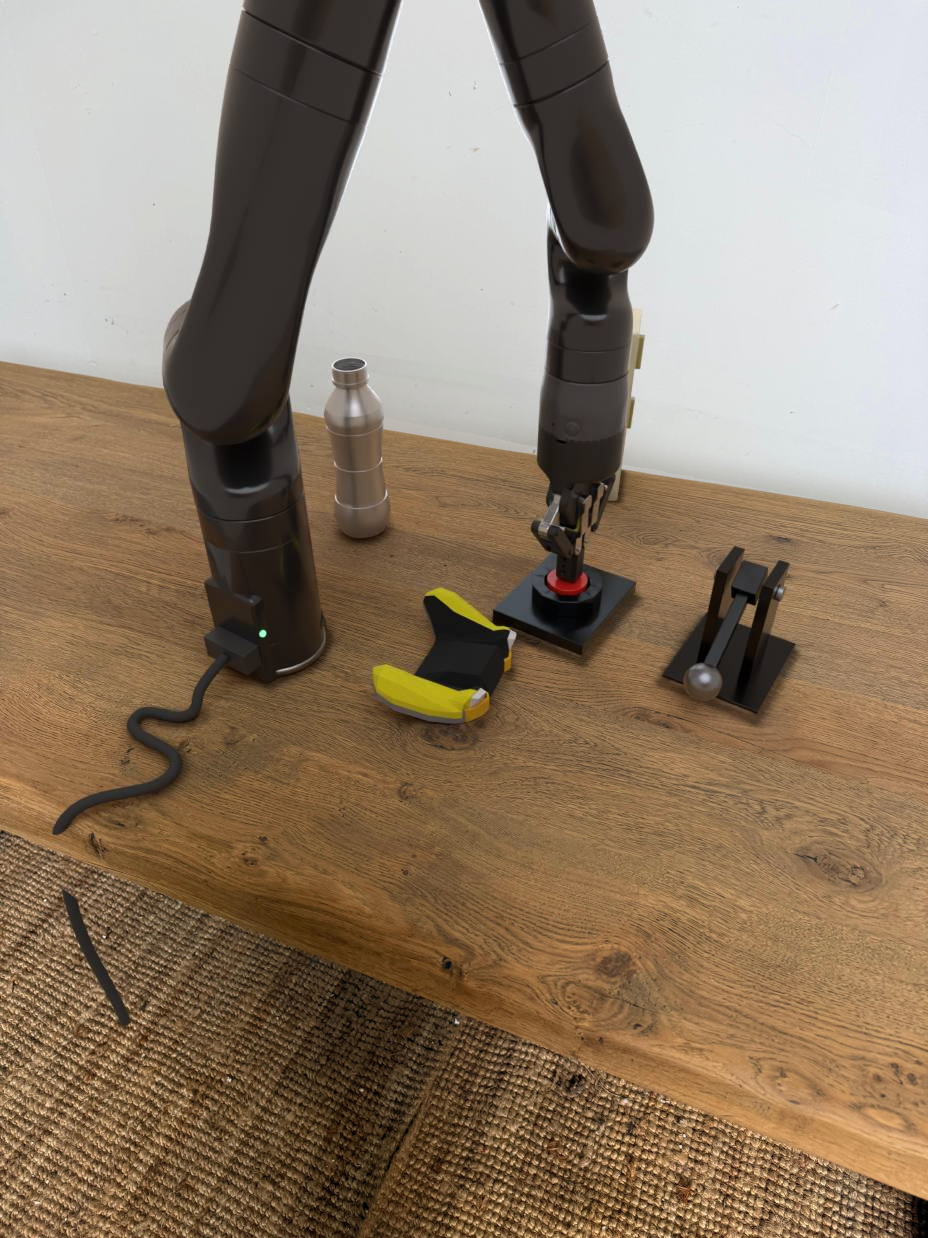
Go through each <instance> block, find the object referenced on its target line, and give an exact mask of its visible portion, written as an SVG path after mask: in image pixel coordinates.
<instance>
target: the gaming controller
mask: <svg viewBox="0 0 928 1238" xmlns="http://www.w3.org/2000/svg"><path fill="white" fill-rule="evenodd" d="M422 608H423V610H424V613H425V615H426V618H427V620H428V623H429V626H430V630H431V632H432V635H433V639H434V641H433V644H432V645H431V647H430V649H429V651H428V652H427V654H426V656H425V657H424V658H423V660H422V662H421V663H420V665H419V666H418V668H417V669H416V671H415V673H414V674H411V672H407V671H405V670H403V669H400V668H397V667H395V666H393V665H390V664H387V663H385V664H380V665H376V666H373V667H372V673H371V674H372V678H371V681H372V682H371V684H372V689H373V693H374V694H375V697H376V699H377V700H379V701H380V702H382V703H383V704H384V705H386V706H387V707H388V708H389V709H391V710H392V711H395V712H397V713H401V714H404V715H407V716H411V717H414V718H417V719H420V720H424V721H426V722H432V723H441V724H451V725H452V724H453V725H457V724H463V723H470V722H472V721H474V720H475V719H478V718H480V717H482V716H483V715H484V714H486V713H487V712H488V711H489V710H490V699H491V697H492V696H493V693H494V692H495V690H496V688H497V686H498V684H499V682H500V681H501V678H502V676H503V675H504V673H505V672H507V671H509V670H510V669H511V668H512V647H513V646H514V645H513V644H514V642H515V641H516V637H517V632H515V631H514V630H512V629H510V627H509V628H508V627H504V626H495V625H494V624H493V621H492V622H491V621H490V620H489V619H488V618H487V617H486V616H484V615H483V614H482V613H481V612H479V610H477V609H476V608H474V607H473V605H471V604H469V603H468V602H467V601H466V600H465V599H464V598H462V597H461V596H459V595H458V594H457V593H456V592H455V591H451V590H449V589H446V588H443V587H437V588H435V589H432V590H429V591H428V592H426V593H425V594H424V597H423V600H422Z"/></svg>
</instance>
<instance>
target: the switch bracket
mask: <svg viewBox="0 0 928 1238" xmlns="http://www.w3.org/2000/svg"><path fill="white" fill-rule="evenodd" d="M745 551H746V549H745V548H743V547H741V546H737V545H733V547H732V548H731V549H730V551H729V552H728V554H727V555H726V556H725V558H724V559H723V560H722V561H721V563H720V564H718V565H717V566H716V568H715V569H714V570H715V571H714V572H713V573H714V574H713V584H712V589H711V594H710V598H709V603H708V607H707V611H706V612H705V613H704V615H703V616H702V618H701V619H700V620H699V621H698V623H697V625H696V626H695V627H694V628H693V630H692V632H691V633H690V634H689V635H688V637H687V638H686V640H685V642H684V643H683V644H682V646H681V647H680V648H679V650H678V651H677V652H676V654H675V656H674V657H673V658H672V659H671V661H670V662H669V664H668V665H667V667H666V668H665V670H664V671H663V673H661V676H662V678H665V679H667V680H670V681H672V682H674V683H677V684H680V685H682V686H684V676H685V673H686V672H687V670H688V669H689V668H690V667H691V666H693V665H695V664H698V663H704V661H705V659H706V657H707V655H708V652H709V650H710V648H711V646H712V644H713V642H714V640H715V638H716V635H717V633H718V631H719V629H720V627H721V625H722V623H723V621H724V619H725V616H726V614H727V612H728V610H729V608H730V606H731V604H732V602H733V598H731V585H732V583H733V581H734V578H735V576H736V574H737V572H738V570H739V568H740V566H741V564H742V562H743V560H744V556H745ZM790 565H791V562H788V561H784V560H782V559H778V560H777V562H776V564H775V565H774V566H773V568H772V569H771V571H770V573H768V577H767V579H766V580H765V582H764V583H763V585H762V588H761V592H760V596H759V599H758V601H757V604H756V608H755V611H754V615H753V618H752V623H751V627H750V626H748V625H744V624H742V623H739V624H738V626H737V628H736V630H735V632H734V634H733V636H732V639H731V641H730V643H729V645H728V647H727V649H726V651H725V654H724V656H723V658H722V660H721V662H720V664H719V666H718V669H717V670H718V671H719V672H720V674H721V676H722V680H723V684H722V689H721V691H720V692H719V694H718V695H717V696H716V697H714V698H715V699H717V700H720V701H723V702H724V703H727V704H730V705H733V706H735V707H738V708H740V709H743V710H745V711H748V712H750V713H753V714H755V715H758V714H759V712H760V710H761V709H762V707H763V705H764V704H765V702H766V700H767V698H768V696H769V695H770V692H771V691H772V689H773V688H774V686H775V684H776V682H777V680H778V678H779V676H780V675H781V673H782V671H783V669H784V667H785V665H786V664H787V662H788V660H789V658H790V656H791V655H792V653H793V651H794V649H795V647H796V645H797V644H796V643H795V642H792V641H790V640H787V639H784V638H781V637H778V636H776V635H772V634H771V632H772V629H773V625H774V622H775V619H776V614H777V611H778V608H779V605H780V602H782V601H783V599H784V596H785V594H786V591H787V586H785V583H786V579H787V576H788V572H789V570H790Z"/></svg>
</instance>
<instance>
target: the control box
mask: <svg viewBox="0 0 928 1238" xmlns="http://www.w3.org/2000/svg"><path fill="white" fill-rule="evenodd" d="M556 565H557V554H555V553H552V552H549V554H548V555H546V557H545V558H544V559H542V561H541V562H540V563H539V564H538V565H536V567H535V568H534V569H533V570H531V571H530V573H529V574H527V575H526V576H525V577H524V578H523V580H521V581H520V582H519V583H518V584H517V585H516V586H515V587H514V588H513V589H512V590H511V591H510V592H509V593H508V594H507V595H506V596H505V597H504V598H503V599H502V600H501V601H500V602H499V603H498V604H497V605H495V607H494V608H493V609H492V623H493V624H494V625H495V626H504V627H508V628H509V629H510V628H512V629H514V630H517V631H518V632H521V633H524V634H526V635H529V636H531V637H534V638H537V639H539V640H541V641H544V642H545V643H549V644H551V645H553V646H556V647H559V648H561V649H563V650H566V651H569V652H570V653H573V654H575V655H577V656H580V657H581V656H583V655H584V654H585V653H586V651H587V650H588V649H589V648H590V647H591V646H592V644H593V643H594V642H595V641H596V640H597V639H598V637H599V636H600V635H601V634H602V632H603V631H604V630H605V629H606V628H607V626H608V625H609V624H610V623H611V621H613V619H614V618H615V617H616V615H617V614H618V613H619V612H620V611H621V610H622V608H623V607H625V605H626V604H627V603H628V602H629V600H630V599H631V598H632V596H633V595H634V594H635V593H636V589H637V581H635V580H632V579H629V578H626V577H624V576H621V575H617V574H616V573H612V572H609V571H607V570H604V569H601V568H598V567H595V566H592V565H589V564H587V563H584V562H583V573H585V575H586V576H587V579H588V582H587V590H586V591H585V592H582V593H579V594H576V595H561V594H559V593H556V592H553V591H551V590H550V589H549V588H548V587H547V577H548V574H549V573H550V572H551V571H552V570H554V569H556Z"/></svg>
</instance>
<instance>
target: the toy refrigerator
mask: <svg viewBox="0 0 928 1238" xmlns="http://www.w3.org/2000/svg"><path fill="white" fill-rule="evenodd" d="M632 309H633V336H632V345H631V354H630V362H629V369H628V370H629V371H628V387H629V395H628V405H627V414H626V422H625V431H624V439H623V447H622V456H621V464H620V467H619V469H618V471H617V472H616V473H615V474H616V480H615V482H614V485H613V487H612V490H611V493H610V496H609V498H608V501H607V502H617V501H618V496H619V491H620V490H619V489H620V482H621V474H622V469H623V468H622V467H623V459H624V452H625V445H626V437H627V429H632V423H633V417H634V410H635V402H636V397H635V396H632V393H633V392H632V390H633V384H634V375H635V370H641V369H642V368H641V367H642V360H643V353H644V346H645V339H646V335H645V334H641V333H640V332H641V323H642V316H643V315H642V314H643V310H642V308H638V307H632Z"/></svg>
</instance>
